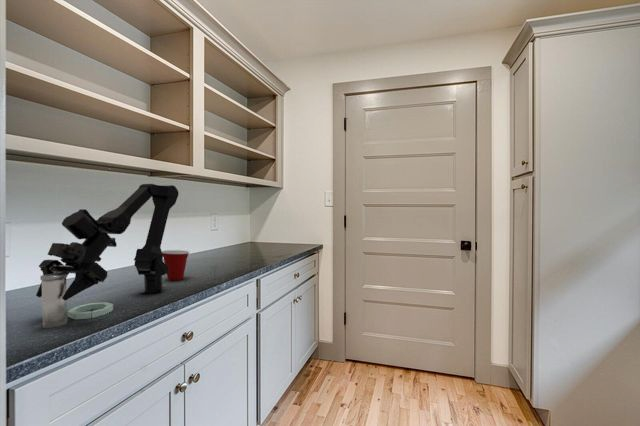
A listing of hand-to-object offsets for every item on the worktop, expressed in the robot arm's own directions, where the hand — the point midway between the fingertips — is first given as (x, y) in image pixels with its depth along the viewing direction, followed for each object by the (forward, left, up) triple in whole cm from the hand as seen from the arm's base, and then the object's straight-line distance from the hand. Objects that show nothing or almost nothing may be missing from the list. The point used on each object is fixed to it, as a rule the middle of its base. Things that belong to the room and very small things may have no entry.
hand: (50, 298), depth 84 cm
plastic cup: (-48, +20, -7) cm, 53 cm away
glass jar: (-1, 0, -7) cm, 7 cm away
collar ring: (-9, +5, -7) cm, 13 cm away
